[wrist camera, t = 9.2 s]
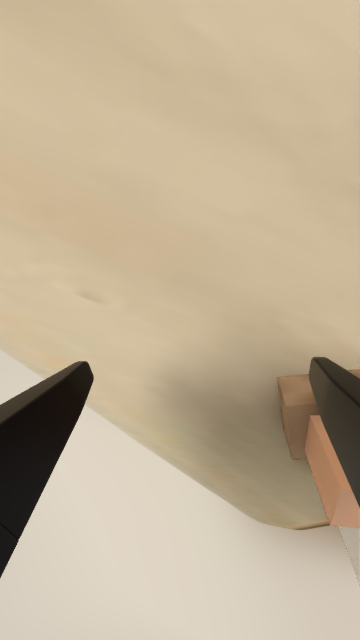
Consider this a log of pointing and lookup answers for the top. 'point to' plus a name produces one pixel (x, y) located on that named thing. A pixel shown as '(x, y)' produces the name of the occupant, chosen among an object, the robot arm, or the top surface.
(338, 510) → the terracotta cube
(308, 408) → the walnut block
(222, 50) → the top surface
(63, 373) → the robot arm
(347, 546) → the milk carton
